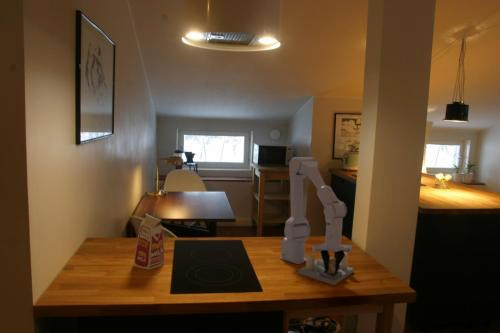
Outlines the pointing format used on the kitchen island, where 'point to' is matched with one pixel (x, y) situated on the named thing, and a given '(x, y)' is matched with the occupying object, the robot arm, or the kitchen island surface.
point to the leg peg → (331, 266)
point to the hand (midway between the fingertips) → (330, 270)
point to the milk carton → (149, 244)
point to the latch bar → (321, 263)
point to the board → (321, 273)
